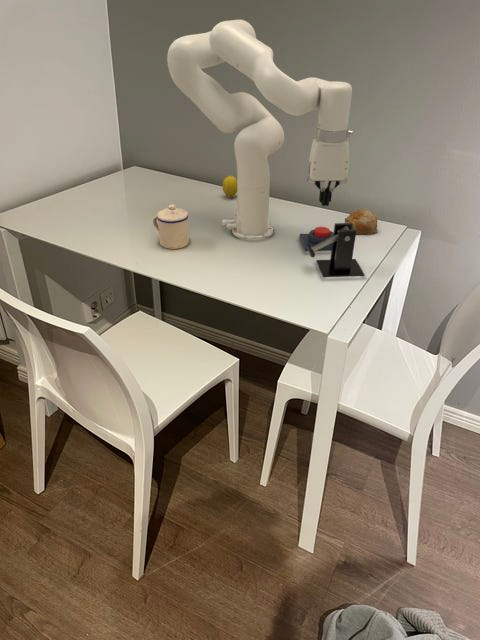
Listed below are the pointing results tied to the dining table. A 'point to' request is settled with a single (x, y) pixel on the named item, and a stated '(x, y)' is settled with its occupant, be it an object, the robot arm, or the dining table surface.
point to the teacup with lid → (172, 227)
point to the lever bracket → (341, 255)
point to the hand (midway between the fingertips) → (324, 204)
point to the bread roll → (362, 222)
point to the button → (321, 232)
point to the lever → (323, 243)
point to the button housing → (314, 241)
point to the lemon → (230, 186)
